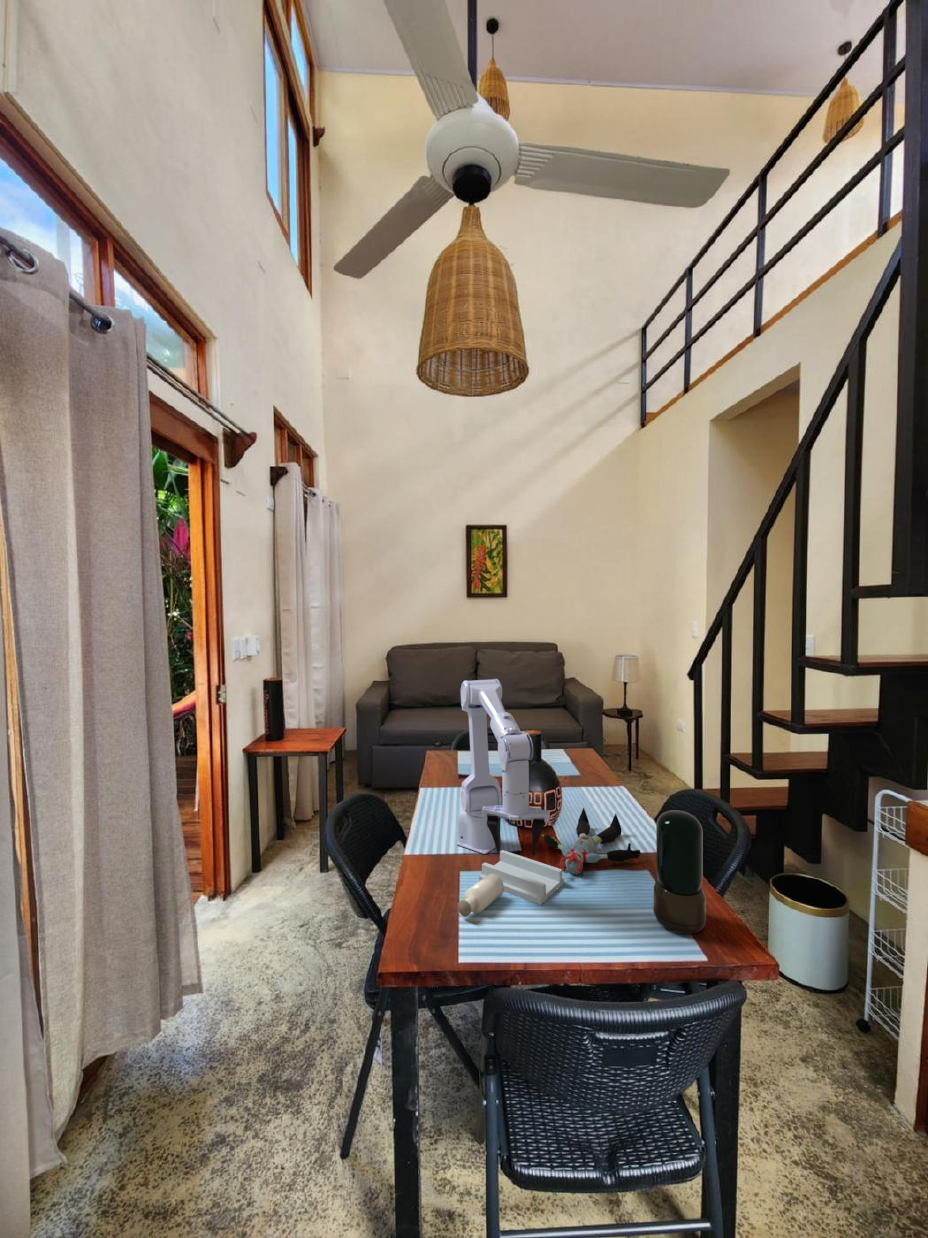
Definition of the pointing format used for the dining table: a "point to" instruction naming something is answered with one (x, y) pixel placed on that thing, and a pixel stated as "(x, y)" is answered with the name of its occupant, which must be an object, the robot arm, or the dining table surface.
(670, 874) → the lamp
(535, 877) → the cradle
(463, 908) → the bottle
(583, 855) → the toy
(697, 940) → the dining table surface
